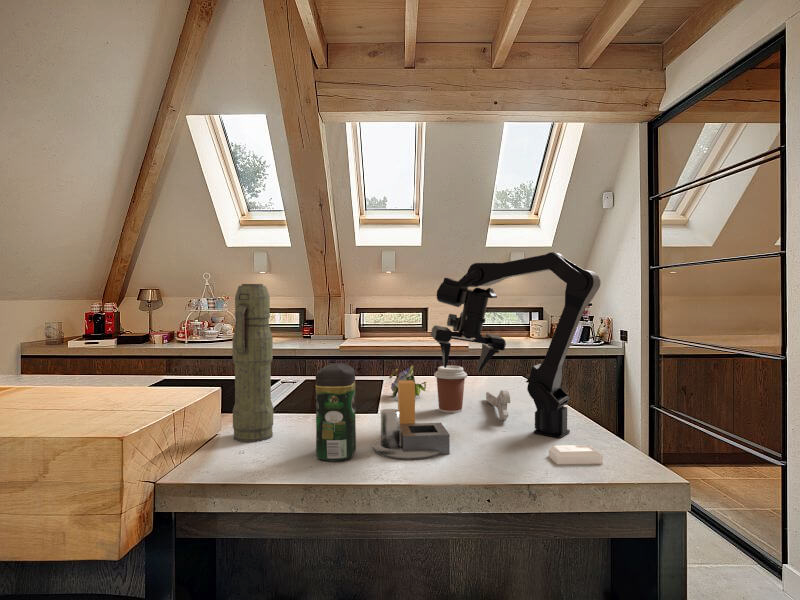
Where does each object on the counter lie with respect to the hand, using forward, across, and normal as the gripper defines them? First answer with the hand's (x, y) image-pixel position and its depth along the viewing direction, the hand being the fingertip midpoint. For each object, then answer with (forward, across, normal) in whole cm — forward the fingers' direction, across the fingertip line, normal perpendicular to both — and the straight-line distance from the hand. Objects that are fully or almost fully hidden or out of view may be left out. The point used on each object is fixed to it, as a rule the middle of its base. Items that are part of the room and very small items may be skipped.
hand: (461, 369), depth 133 cm
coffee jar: (+14, +32, +26) cm, 43 cm away
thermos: (+20, +49, +10) cm, 54 cm away
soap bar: (+6, -15, +36) cm, 39 cm away
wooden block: (+14, +14, +12) cm, 23 cm away
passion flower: (+19, +6, -26) cm, 33 cm away
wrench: (+12, -14, -4) cm, 19 cm away
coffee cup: (+14, -2, -7) cm, 16 cm away
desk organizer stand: (+12, +16, +24) cm, 31 cm away
